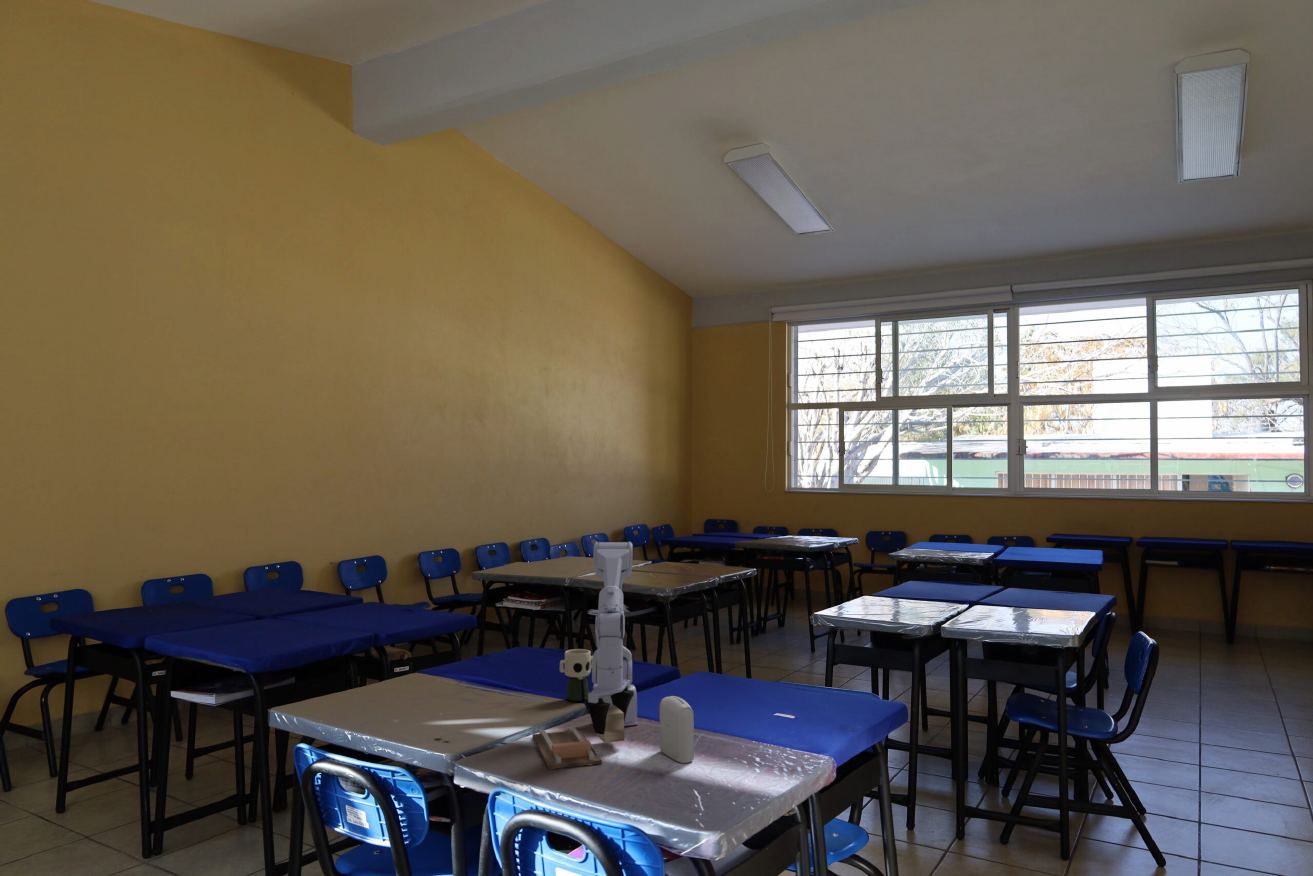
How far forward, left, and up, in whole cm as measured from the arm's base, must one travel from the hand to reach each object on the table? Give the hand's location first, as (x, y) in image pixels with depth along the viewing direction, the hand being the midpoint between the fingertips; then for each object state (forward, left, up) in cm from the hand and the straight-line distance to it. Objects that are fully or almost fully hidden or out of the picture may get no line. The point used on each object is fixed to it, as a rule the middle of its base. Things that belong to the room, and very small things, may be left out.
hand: (609, 728), depth 179 cm
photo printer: (-12, +11, -4) cm, 17 cm away
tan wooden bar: (+10, +7, -4) cm, 13 cm away
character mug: (-1, -41, -4) cm, 41 cm away
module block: (0, 0, -2) cm, 2 cm away
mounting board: (+10, 0, -4) cm, 11 cm away
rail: (+10, 0, -4) cm, 11 cm away
